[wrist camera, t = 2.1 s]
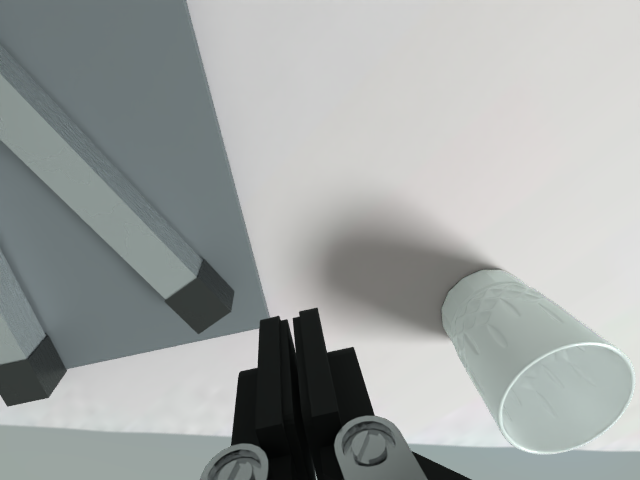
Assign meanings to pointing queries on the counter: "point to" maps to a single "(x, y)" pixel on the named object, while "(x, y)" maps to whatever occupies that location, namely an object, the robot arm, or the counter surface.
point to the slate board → (133, 163)
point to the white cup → (535, 363)
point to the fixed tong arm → (24, 347)
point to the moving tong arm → (106, 199)
